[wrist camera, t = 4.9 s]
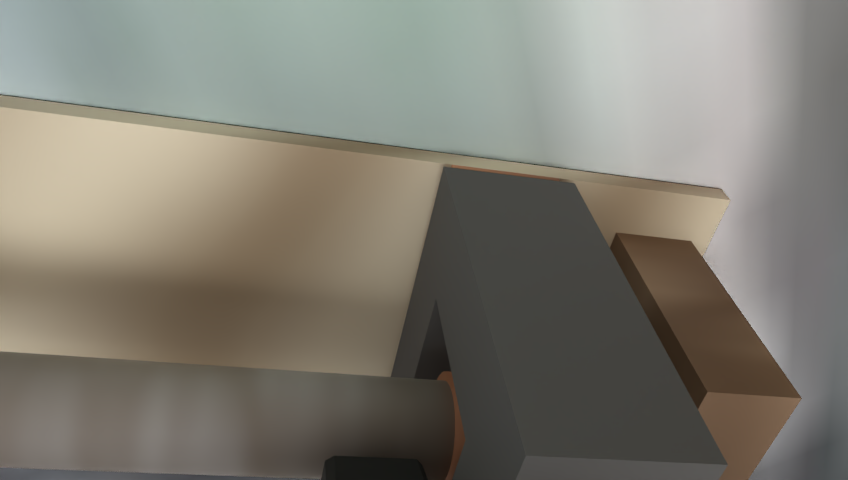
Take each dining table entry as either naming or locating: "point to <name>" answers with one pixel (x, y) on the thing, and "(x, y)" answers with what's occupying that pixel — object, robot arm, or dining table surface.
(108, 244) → the rail
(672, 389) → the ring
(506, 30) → the dining table surface
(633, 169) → the dining table surface
